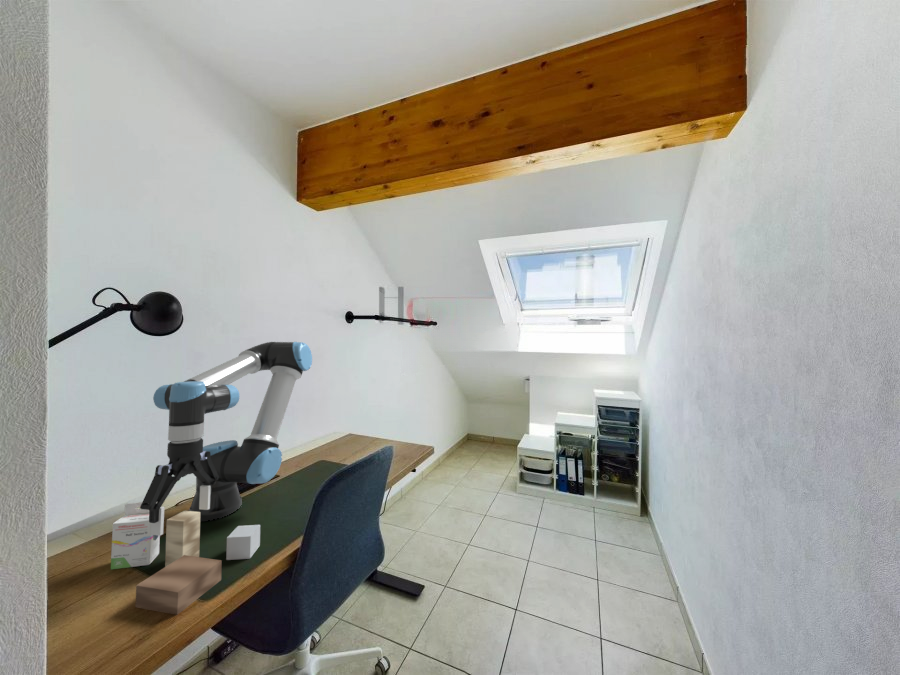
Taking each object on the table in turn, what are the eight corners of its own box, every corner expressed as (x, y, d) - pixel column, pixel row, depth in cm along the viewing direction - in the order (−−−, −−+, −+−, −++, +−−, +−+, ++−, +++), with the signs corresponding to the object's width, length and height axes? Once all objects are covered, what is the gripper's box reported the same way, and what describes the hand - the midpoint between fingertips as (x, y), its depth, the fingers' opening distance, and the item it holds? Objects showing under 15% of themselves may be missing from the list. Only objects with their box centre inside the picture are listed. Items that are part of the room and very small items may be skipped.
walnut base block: (183, 575, 85) (184, 555, 85) (221, 581, 83) (221, 560, 83) (135, 608, 74) (136, 585, 74) (177, 616, 72) (178, 592, 72)
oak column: (182, 555, 92) (184, 510, 93) (199, 556, 92) (200, 511, 92) (165, 566, 88) (166, 519, 88) (182, 568, 87) (183, 521, 87)
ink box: (108, 570, 86) (111, 511, 86) (122, 558, 91) (124, 503, 91) (149, 565, 88) (151, 507, 89) (160, 553, 93) (162, 499, 93)
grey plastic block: (237, 547, 96) (238, 525, 97) (259, 545, 97) (260, 524, 97) (226, 560, 90) (226, 537, 91) (250, 558, 91) (250, 536, 91)
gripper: (212, 428, 103) (209, 499, 102) (123, 452, 79) (118, 546, 78) (234, 429, 102) (231, 501, 101) (150, 454, 78) (146, 548, 77)
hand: (182, 520), depth 90 cm, fingers open, 13 cm apart
